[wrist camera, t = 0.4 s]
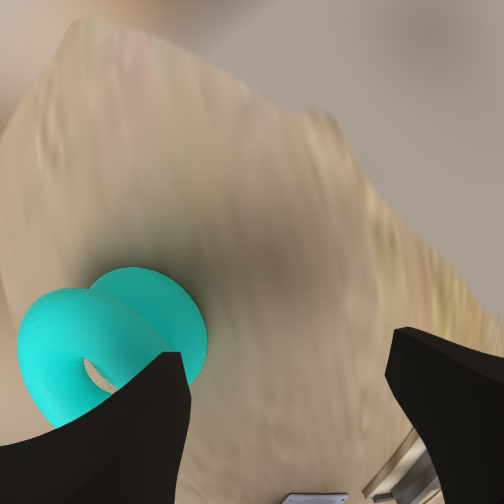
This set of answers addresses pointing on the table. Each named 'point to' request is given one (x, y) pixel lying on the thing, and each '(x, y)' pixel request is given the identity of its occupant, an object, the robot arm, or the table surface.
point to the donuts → (105, 338)
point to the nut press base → (405, 475)
